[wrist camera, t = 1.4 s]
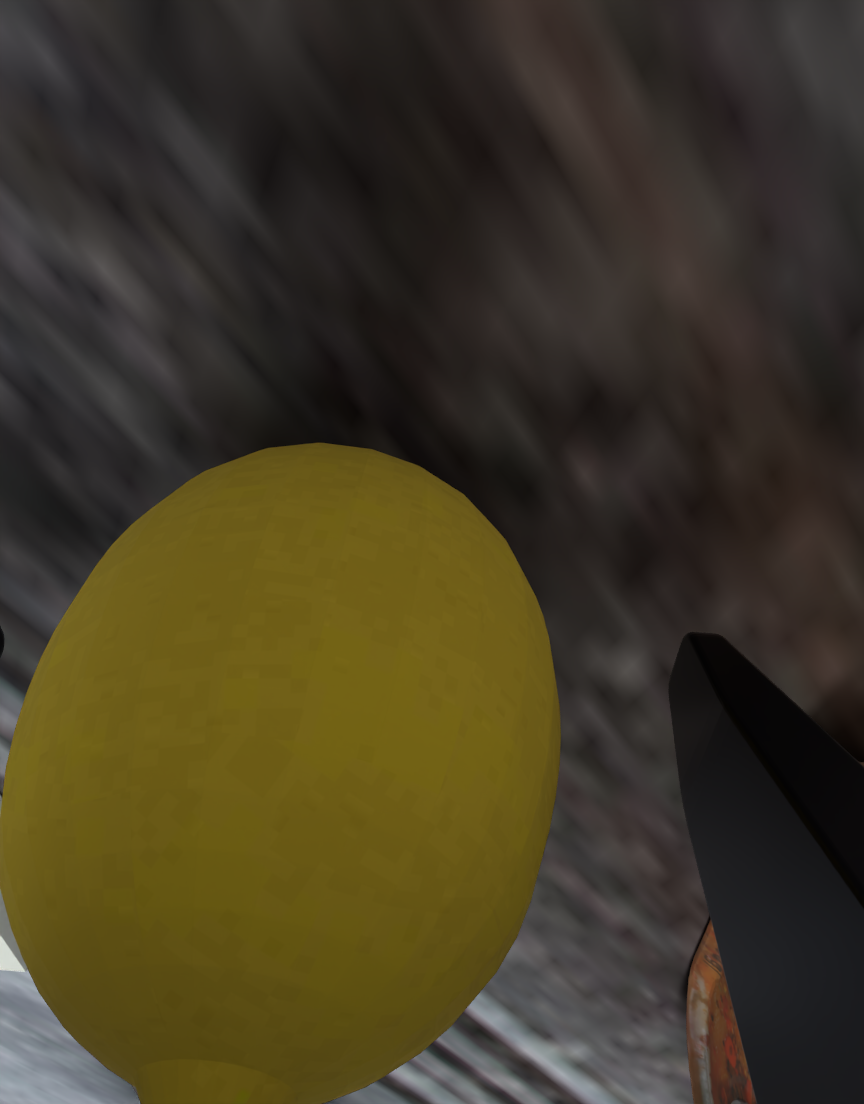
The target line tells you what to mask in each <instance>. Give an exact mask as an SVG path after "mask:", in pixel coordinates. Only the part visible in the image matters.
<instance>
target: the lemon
mask: <svg viewBox="0 0 864 1104" xmlns="http://www.w3.org/2000/svg"><path fill="white" fill-rule="evenodd" d="M560 743H561V728H560V707H559V700H558V693H557V686H556V680H555V673H554V667H553V660H552V654H551V647H550V641H549V636H548V632H547V628H546V625H545V621H544V617H543V614H542V611H541V609H540V606H539V604H538V601H537V599H536V596H535V594H534V592H533V590H532V588H531V586H530V585H529V583H528V581H527V579H526V577H525V575H524V573H523V571H522V569H521V567H520V565H519V563H518V562H517V560H516V558H515V556H514V554H513V552H512V550H511V549H510V547H509V545H508V543H507V541H506V540H505V538H504V537H503V536H502V535H501V534H500V533H499V532H498V530H497V529H496V528H495V527H494V526H493V525H492V524H491V523H490V522H489V521H488V520H487V519H486V518H485V516H484V515H483V514H482V513H481V512H480V511H479V510H478V509H477V508H476V507H475V506H474V505H473V504H472V503H471V502H470V500H469V499H468V498H467V497H466V496H465V495H464V494H463V493H461V492H459V491H458V490H456V489H455V488H453V487H452V486H450V485H448V484H447V483H445V482H444V481H442V480H441V479H439V478H437V477H436V476H434V475H433V474H431V473H430V472H428V471H426V470H425V469H423V468H422V467H420V466H418V465H415V464H412V463H410V462H407V461H404V460H401V459H398V458H396V457H393V456H390V455H387V454H384V453H381V452H379V451H376V450H373V449H367V448H359V447H351V446H344V445H336V444H328V443H310V444H301V445H291V446H282V447H272V448H266V449H263V450H260V451H257V452H254V453H251V454H249V455H246V456H243V457H241V458H238V459H235V460H233V461H230V462H227V463H224V464H222V465H219V466H216V467H214V468H211V469H208V470H206V471H204V472H202V473H201V474H199V475H197V476H196V477H194V478H192V479H191V480H189V481H188V482H186V483H185V484H184V485H182V486H181V487H180V488H178V489H177V490H176V491H174V492H173V493H172V494H170V495H169V496H167V497H166V498H165V499H163V500H162V501H161V502H159V503H158V504H157V505H155V506H154V507H153V508H151V509H150V510H149V511H147V512H146V513H145V514H144V515H143V516H141V517H140V518H139V519H138V520H136V521H135V522H134V523H133V524H132V525H130V527H129V528H128V529H127V530H126V531H125V532H124V533H123V534H122V535H121V536H120V537H119V538H118V539H117V540H116V541H115V542H114V543H113V544H112V545H111V547H110V548H109V549H108V551H107V552H106V553H105V554H104V556H103V557H102V558H101V560H100V561H99V562H98V564H97V565H96V566H95V568H94V569H93V571H92V572H91V574H90V576H89V577H88V579H87V580H86V582H85V583H84V585H83V586H82V588H81V589H80V591H79V592H78V594H77V595H76V597H75V599H74V600H73V602H72V603H71V605H70V606H69V608H68V610H67V611H66V613H65V614H64V616H63V618H62V619H61V621H60V622H59V624H58V626H57V627H56V629H55V631H54V632H53V634H52V637H51V639H50V641H49V643H48V645H47V647H46V649H45V651H44V653H43V655H42V657H41V659H40V661H39V663H38V666H37V668H36V671H35V673H34V676H33V678H32V681H31V683H30V686H29V688H28V691H27V693H26V697H25V700H24V703H23V706H22V709H21V712H20V715H19V718H18V721H17V724H16V728H15V732H14V736H13V740H12V744H11V749H10V753H9V757H8V761H7V765H6V772H5V780H4V788H3V796H2V804H1V813H0V890H1V893H2V897H3V901H4V904H5V908H6V912H7V915H8V919H9V923H10V926H11V930H12V932H13V935H14V937H15V940H16V943H17V945H18V948H19V950H20V953H21V956H22V958H23V960H24V962H25V964H26V966H27V968H28V970H29V973H30V975H31V977H32V979H33V981H34V983H35V985H36V987H37V989H38V992H39V993H40V995H41V996H42V997H43V999H44V1000H45V1002H46V1003H47V1005H48V1006H49V1007H50V1009H51V1010H52V1012H53V1013H54V1014H55V1016H56V1017H57V1019H58V1020H59V1021H60V1023H61V1024H62V1026H63V1027H64V1028H65V1029H66V1030H67V1031H68V1032H69V1033H70V1034H71V1036H72V1037H73V1038H74V1039H75V1040H76V1041H77V1042H78V1043H79V1044H80V1045H81V1046H82V1047H84V1048H85V1049H86V1050H87V1051H88V1052H89V1053H90V1054H91V1055H93V1056H94V1057H95V1058H96V1059H97V1060H98V1061H99V1062H101V1063H102V1064H103V1065H104V1066H105V1067H106V1068H107V1069H109V1070H110V1071H112V1072H113V1073H115V1074H116V1075H118V1076H119V1077H121V1078H122V1079H124V1080H125V1081H127V1082H128V1083H130V1084H131V1085H133V1086H134V1087H136V1090H137V1093H138V1096H139V1100H140V1103H141V1104H322V1103H326V1102H329V1101H332V1100H334V1099H337V1098H339V1097H342V1096H344V1095H347V1094H350V1093H352V1092H355V1091H357V1090H360V1089H362V1088H365V1087H367V1086H368V1085H370V1084H372V1083H374V1082H375V1081H377V1080H379V1079H381V1078H382V1077H384V1076H386V1075H387V1074H389V1073H390V1072H392V1071H393V1070H395V1069H397V1068H398V1067H400V1066H401V1065H403V1064H404V1063H406V1062H407V1061H409V1060H411V1059H412V1058H414V1057H415V1056H417V1055H418V1054H420V1053H421V1052H422V1051H423V1050H425V1049H426V1048H427V1047H428V1046H429V1045H430V1044H431V1043H433V1042H434V1041H435V1040H436V1039H437V1038H438V1037H439V1036H441V1035H442V1034H443V1033H444V1032H445V1031H446V1030H447V1029H449V1028H450V1027H451V1026H452V1025H453V1023H454V1022H455V1021H456V1020H457V1019H458V1018H459V1016H460V1015H461V1014H462V1013H463V1012H464V1010H465V1009H466V1008H467V1007H468V1006H469V1005H470V1003H471V1002H472V1001H473V1000H474V999H475V997H476V996H477V995H478V994H479V993H480V991H481V990H482V989H483V988H484V987H485V985H486V984H487V983H488V982H489V981H490V979H491V978H492V977H493V976H494V975H495V973H496V972H497V970H498V969H499V967H500V965H501V964H502V962H503V960H504V958H505V957H506V955H507V953H508V952H509V950H510V948H511V946H512V945H513V943H514V941H515V940H516V938H517V936H518V933H519V930H520V928H521V925H522V923H523V920H524V917H525V915H526V912H527V910H528V907H529V905H530V902H531V898H532V895H533V891H534V887H535V883H536V879H537V876H538V872H539V868H540V864H541V860H542V857H543V853H544V849H545V845H546V841H547V837H548V833H549V829H550V824H551V819H552V813H553V808H554V803H555V797H556V790H557V782H558V773H559V765H560Z"/></svg>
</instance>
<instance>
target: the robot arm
mask: <svg viewBox="0 0 864 1104" xmlns="http://www.w3.org/2000/svg"><path fill="white" fill-rule="evenodd" d="M3 649H4V634H3V631H2V629H1V626H0V657H1V655H2V652H3ZM669 702H670V709H671V717H672V725H673V733H674V741H675V749H676V757H677V765H678V773H679V781H680V788H681V795H682V802H683V807H684V812H685V817H686V821H687V826H688V830H689V834H690V838H691V842H692V846H693V850H694V854H695V858H696V862H697V866H698V870H699V874H700V878H701V882H702V886H703V890H704V894H705V898H706V902H707V906H708V910H709V914H710V918H711V922H712V926H713V930H714V934H715V938H716V942H717V946H718V950H719V954H720V958H721V962H722V966H723V970H724V974H725V978H726V982H727V986H728V990H729V994H730V998H731V1002H732V1006H733V1010H734V1014H735V1018H736V1022H737V1026H738V1030H739V1034H740V1038H741V1042H742V1047H743V1051H744V1055H745V1059H746V1063H747V1067H748V1071H749V1075H750V1079H751V1083H752V1087H753V1091H754V1095H755V1099H756V1103H757V1104H864V766H863V765H862V764H861V763H859V762H858V761H857V760H856V759H855V758H854V757H853V756H852V755H851V754H850V753H849V752H848V751H846V750H845V749H844V748H843V747H842V746H841V745H840V744H839V743H838V742H837V741H836V740H835V739H833V738H832V737H831V736H830V735H829V734H828V733H827V732H826V731H825V730H824V729H823V728H822V727H821V726H819V725H818V724H817V723H816V722H815V721H814V720H813V719H812V718H811V717H810V716H809V715H808V714H806V713H805V712H804V711H803V710H802V709H801V708H800V707H799V706H798V705H797V704H796V703H795V702H793V701H792V700H791V699H790V698H789V697H788V696H787V695H786V694H785V693H784V692H783V691H782V690H780V689H779V688H778V687H777V686H776V685H775V684H774V683H773V682H772V681H771V680H770V679H769V678H767V677H766V676H765V675H764V674H763V673H762V672H761V671H760V670H759V669H758V668H757V667H756V666H754V665H753V664H752V663H751V662H750V661H749V660H748V659H747V658H746V657H745V656H744V655H743V654H741V653H740V652H739V651H738V650H737V649H736V648H735V647H734V646H733V645H732V644H731V643H730V642H729V641H727V640H726V639H725V638H724V637H723V636H721V635H719V634H713V633H697V632H690V633H688V634H686V635H685V637H684V638H683V640H682V642H681V645H680V648H679V651H678V654H677V657H676V660H675V663H674V666H673V669H672V672H671V675H670V680H669ZM132 1087H133V1089H134V1090H135V1092H136V1093H137V1090H136V1087H134V1086H133V1085H132ZM137 1095H138V1093H137ZM138 1097H139V1096H138Z"/></svg>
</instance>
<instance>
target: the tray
mask: <svg viewBox="0 0 864 1104" xmlns="http://www.w3.org/2000/svg"><path fill="white" fill-rule="evenodd" d="M1 804H2V797H1V795H0V813H1ZM27 969H28V968H27V966H26V964H25V962H24V960H23V958H22V956H21V953H20V950H19V948H18V945H17V943H16V940H15V937H14V935H13V932H12V930H11V926H10V923H9V919H8V915H7V912H6V908H5V904H4V901H3V897H2V893H1V890H0V970H8V971H20V972H26V971H27Z"/></svg>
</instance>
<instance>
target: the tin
mask: <svg viewBox="0 0 864 1104" xmlns="http://www.w3.org/2000/svg"><path fill="white" fill-rule="evenodd" d="M859 763H861V764H862V765H863V766H864V762H859ZM686 1031H687V1048H688V1059H689V1071H690V1078H691V1086H692V1094H693V1100H694V1104H757V1103H756V1099H755V1095H754V1091H753V1087H752V1083H751V1079H750V1075H749V1071H748V1067H747V1063H746V1059H745V1055H744V1051H743V1047H742V1042H741V1038H740V1034H739V1030H738V1026H737V1022H736V1018H735V1014H734V1010H733V1006H732V1002H731V998H730V994H729V990H728V986H727V982H726V978H725V974H724V970H723V966H722V962H721V958H720V954H719V950H718V946H717V942H716V938H715V934H714V930H713V926H712V922H711V920H710V922H709V924H708V926H707V929H706V931H705V933H704V936H703V938H702V940H701V943H700V945H699V947H698V949H697V952H696V954H695V956H694V959H693V962H692V965H691V969H690V975H689V979H688V992H687V1009H686Z"/></svg>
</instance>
